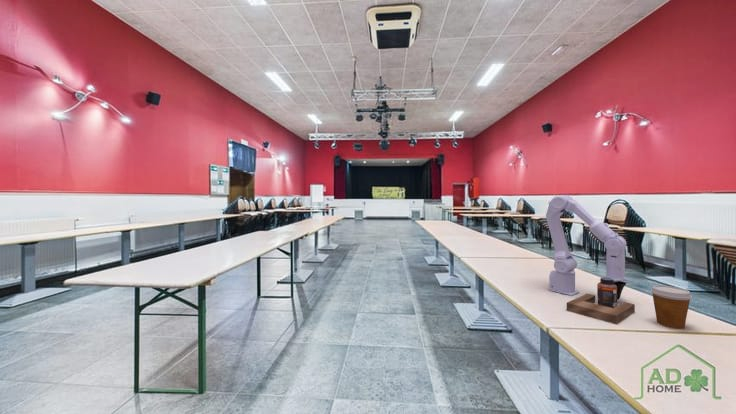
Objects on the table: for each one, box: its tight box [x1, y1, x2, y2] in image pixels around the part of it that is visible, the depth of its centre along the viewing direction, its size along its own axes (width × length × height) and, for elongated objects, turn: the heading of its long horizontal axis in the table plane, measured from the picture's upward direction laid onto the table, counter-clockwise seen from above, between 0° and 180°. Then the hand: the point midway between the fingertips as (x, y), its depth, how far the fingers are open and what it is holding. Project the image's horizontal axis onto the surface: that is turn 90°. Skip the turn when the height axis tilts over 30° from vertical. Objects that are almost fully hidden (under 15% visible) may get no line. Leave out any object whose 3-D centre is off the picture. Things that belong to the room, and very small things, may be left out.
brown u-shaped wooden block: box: [566, 293, 636, 325], centre depth 106 cm, size 15×18×3 cm
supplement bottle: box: [596, 276, 618, 308], centre depth 110 cm, size 6×6×11 cm
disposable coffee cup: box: [650, 284, 693, 330], centre depth 94 cm, size 10×10×12 cm
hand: (615, 299), depth 115 cm, fingers closed
